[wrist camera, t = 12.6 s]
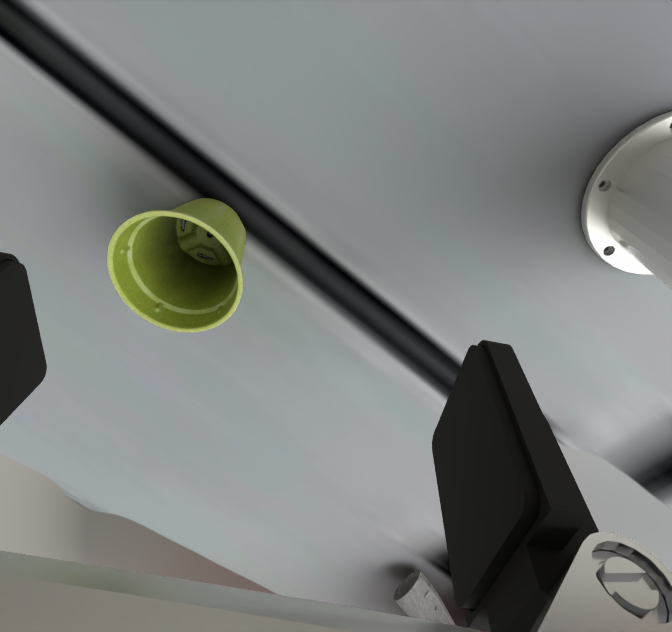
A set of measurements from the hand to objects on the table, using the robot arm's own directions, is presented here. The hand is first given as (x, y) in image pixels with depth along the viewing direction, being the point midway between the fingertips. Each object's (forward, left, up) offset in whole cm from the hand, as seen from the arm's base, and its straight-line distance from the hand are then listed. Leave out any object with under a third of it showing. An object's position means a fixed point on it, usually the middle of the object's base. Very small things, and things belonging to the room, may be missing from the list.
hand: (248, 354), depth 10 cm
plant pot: (+9, +10, -28) cm, 32 cm away
